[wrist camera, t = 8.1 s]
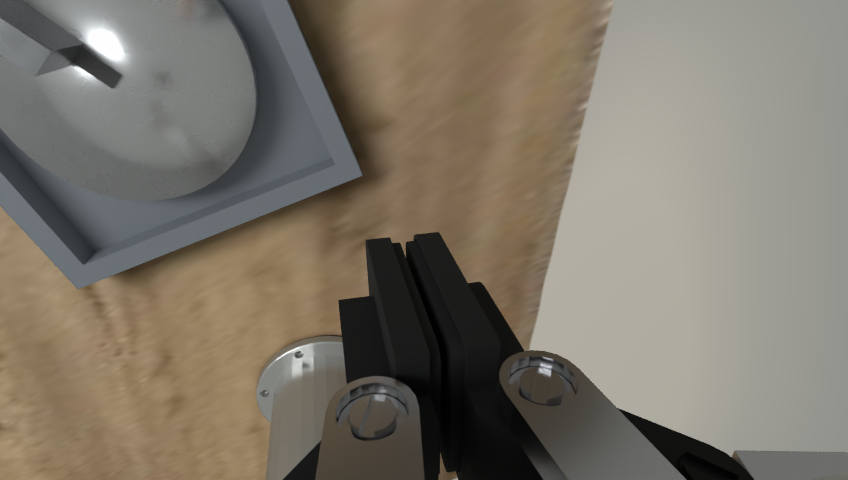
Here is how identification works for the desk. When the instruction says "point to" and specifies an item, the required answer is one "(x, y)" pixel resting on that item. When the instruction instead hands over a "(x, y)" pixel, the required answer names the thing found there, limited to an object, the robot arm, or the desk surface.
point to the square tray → (215, 203)
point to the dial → (127, 92)
